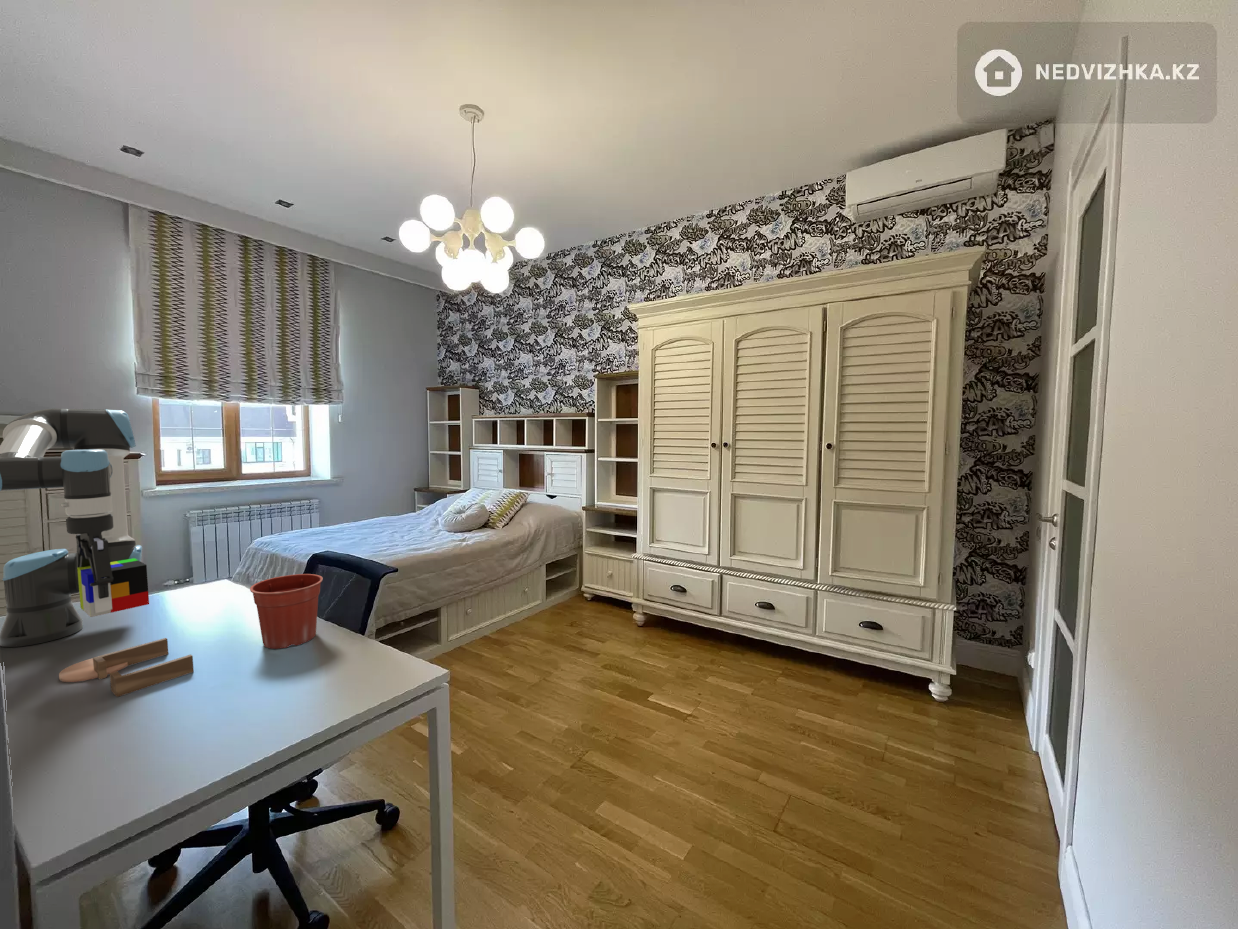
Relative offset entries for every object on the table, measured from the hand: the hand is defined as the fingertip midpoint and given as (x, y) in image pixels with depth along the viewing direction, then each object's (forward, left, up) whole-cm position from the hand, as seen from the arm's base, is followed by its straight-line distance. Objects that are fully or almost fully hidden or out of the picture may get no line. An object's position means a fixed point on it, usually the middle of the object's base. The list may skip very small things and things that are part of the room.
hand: (96, 606), depth 117 cm
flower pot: (+21, +32, -16) cm, 41 cm away
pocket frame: (+12, +5, -15) cm, 20 cm away
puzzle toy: (0, +3, -1) cm, 3 cm away
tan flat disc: (0, -1, -15) cm, 15 cm away
